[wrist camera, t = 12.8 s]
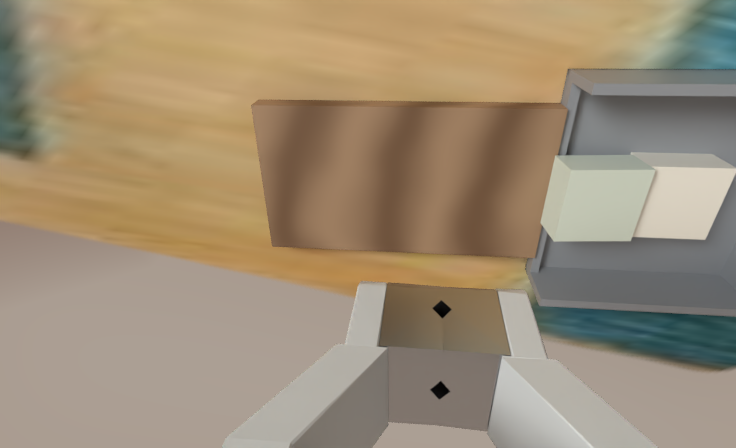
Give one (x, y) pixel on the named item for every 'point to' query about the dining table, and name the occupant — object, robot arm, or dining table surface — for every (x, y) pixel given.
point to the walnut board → (407, 174)
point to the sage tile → (595, 197)
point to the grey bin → (650, 135)
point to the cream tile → (683, 194)
